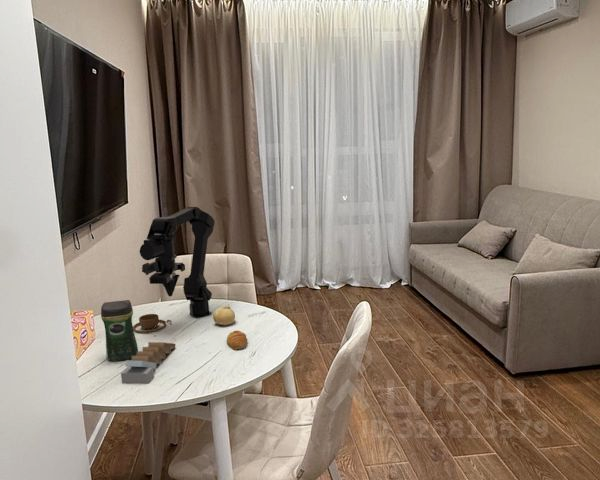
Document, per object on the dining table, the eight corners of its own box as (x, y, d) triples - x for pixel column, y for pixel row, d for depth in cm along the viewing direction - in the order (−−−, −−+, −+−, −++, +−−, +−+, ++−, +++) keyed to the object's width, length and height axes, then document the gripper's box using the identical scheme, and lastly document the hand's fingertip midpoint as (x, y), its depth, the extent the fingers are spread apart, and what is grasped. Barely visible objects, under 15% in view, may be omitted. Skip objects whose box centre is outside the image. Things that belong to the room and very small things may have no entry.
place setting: (127, 339, 188) (125, 324, 187) (119, 323, 206) (117, 308, 205) (176, 329, 196) (175, 314, 195) (164, 314, 214) (163, 300, 212)
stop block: (128, 376, 158) (127, 367, 157) (154, 377, 157) (152, 367, 156) (122, 382, 154) (120, 373, 153) (148, 383, 153) (147, 373, 152)
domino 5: (161, 343, 178) (148, 342, 168) (175, 343, 177) (163, 342, 168) (160, 348, 178) (148, 347, 168) (175, 348, 177) (163, 347, 167)
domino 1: (141, 363, 163) (125, 360, 153) (156, 363, 162) (142, 360, 153) (140, 368, 162) (125, 366, 153) (155, 368, 162) (141, 366, 152)
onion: (220, 329, 192) (219, 310, 191) (209, 324, 198) (208, 305, 197) (239, 323, 197) (238, 305, 195) (228, 318, 203) (226, 300, 202)
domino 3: (150, 353, 170) (137, 351, 161) (165, 353, 169) (152, 351, 160) (150, 358, 170) (136, 356, 160) (165, 359, 169) (152, 357, 159)
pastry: (250, 349, 174) (249, 338, 173) (229, 352, 172) (228, 341, 171) (245, 338, 182) (244, 328, 182) (225, 342, 181) (224, 331, 180)
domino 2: (146, 358, 167) (131, 355, 157) (161, 358, 166) (147, 356, 156) (145, 363, 166) (131, 361, 157) (160, 364, 165) (147, 361, 156)
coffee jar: (139, 349, 177) (133, 296, 174) (136, 359, 170) (130, 303, 166) (109, 353, 176) (102, 299, 172) (105, 363, 168) (97, 307, 164)
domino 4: (156, 348, 174) (142, 346, 164) (171, 348, 173) (158, 347, 164) (156, 353, 174) (142, 352, 164) (170, 353, 173) (157, 352, 163)
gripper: (154, 248, 198) (159, 288, 201) (132, 260, 180) (137, 304, 183) (183, 247, 196) (187, 288, 199) (163, 259, 178) (168, 304, 181)
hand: (170, 296), depth 191 cm, fingers closed
